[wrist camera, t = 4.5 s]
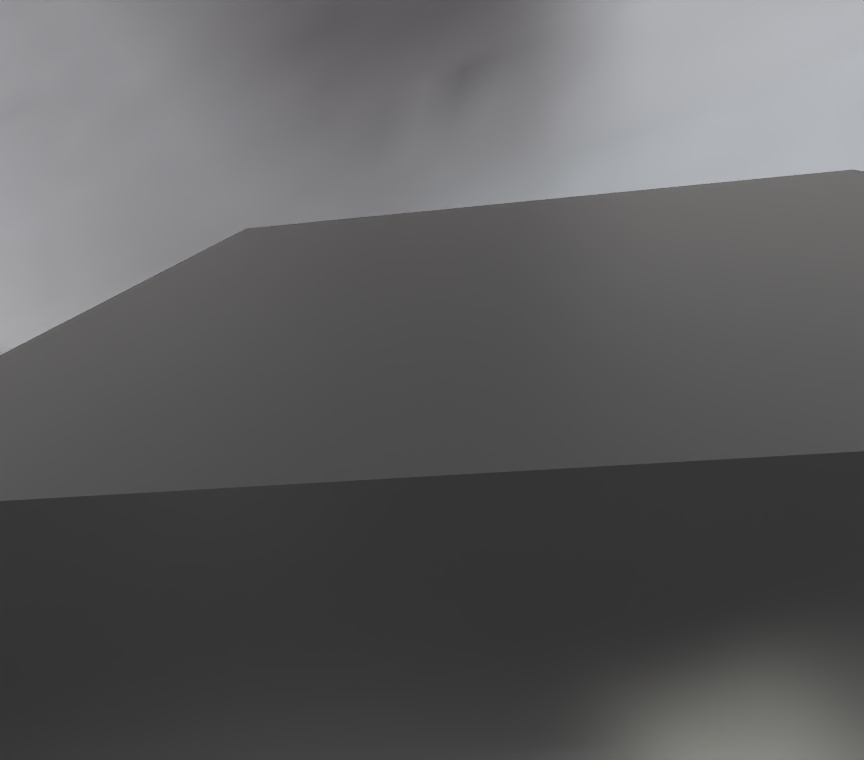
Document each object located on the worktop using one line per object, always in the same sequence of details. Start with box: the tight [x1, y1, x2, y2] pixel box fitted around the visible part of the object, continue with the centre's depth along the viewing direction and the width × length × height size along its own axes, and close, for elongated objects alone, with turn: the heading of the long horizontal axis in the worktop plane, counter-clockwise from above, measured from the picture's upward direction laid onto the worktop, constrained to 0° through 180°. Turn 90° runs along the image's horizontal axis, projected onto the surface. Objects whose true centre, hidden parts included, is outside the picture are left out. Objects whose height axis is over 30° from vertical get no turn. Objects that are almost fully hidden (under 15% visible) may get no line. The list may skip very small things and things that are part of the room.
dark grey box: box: [0, 170, 864, 760], centre depth 7 cm, size 8×8×7 cm
